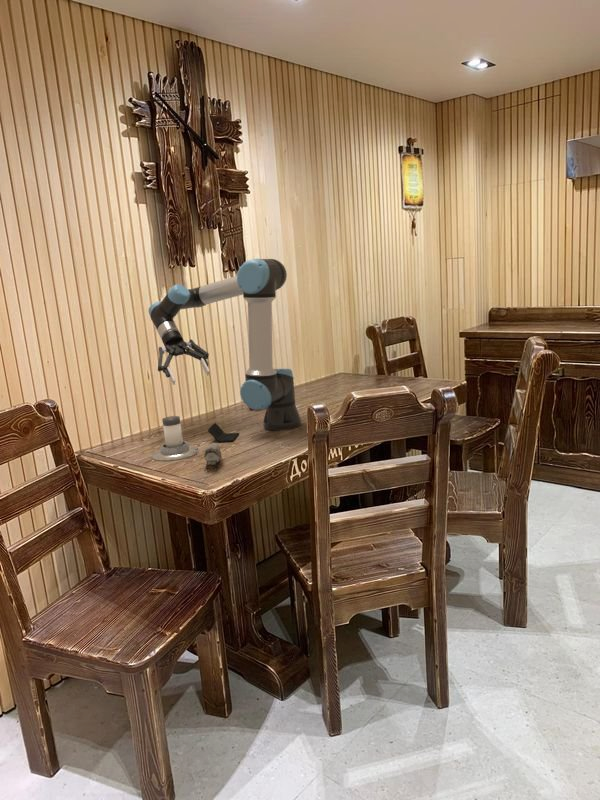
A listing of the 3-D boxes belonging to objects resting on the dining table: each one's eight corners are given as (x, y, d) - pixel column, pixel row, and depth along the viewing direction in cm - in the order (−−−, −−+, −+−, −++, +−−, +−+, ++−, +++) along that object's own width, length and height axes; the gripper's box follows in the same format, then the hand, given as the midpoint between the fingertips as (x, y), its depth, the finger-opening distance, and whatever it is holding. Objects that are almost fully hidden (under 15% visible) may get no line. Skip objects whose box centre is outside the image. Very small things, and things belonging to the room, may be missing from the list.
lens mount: (207, 448, 214) (206, 439, 213) (180, 462, 200) (178, 452, 199) (171, 446, 221) (169, 437, 220) (142, 459, 207) (141, 450, 206)
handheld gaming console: (238, 437, 220) (219, 417, 220) (224, 450, 220) (205, 431, 220) (240, 434, 232) (222, 415, 231) (227, 447, 232) (209, 428, 231)
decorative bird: (224, 457, 202) (222, 435, 201) (220, 471, 186) (218, 448, 185) (208, 458, 202) (205, 437, 200) (203, 473, 186) (200, 450, 185)
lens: (187, 449, 212) (183, 416, 210) (177, 454, 207) (172, 420, 204) (173, 448, 214) (169, 415, 212) (163, 453, 209) (158, 420, 207)
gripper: (199, 334, 241) (220, 375, 232) (139, 349, 230) (159, 392, 221) (201, 322, 235) (223, 363, 226) (139, 336, 224) (159, 380, 215)
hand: (191, 377), depth 224 cm, fingers open, 13 cm apart
